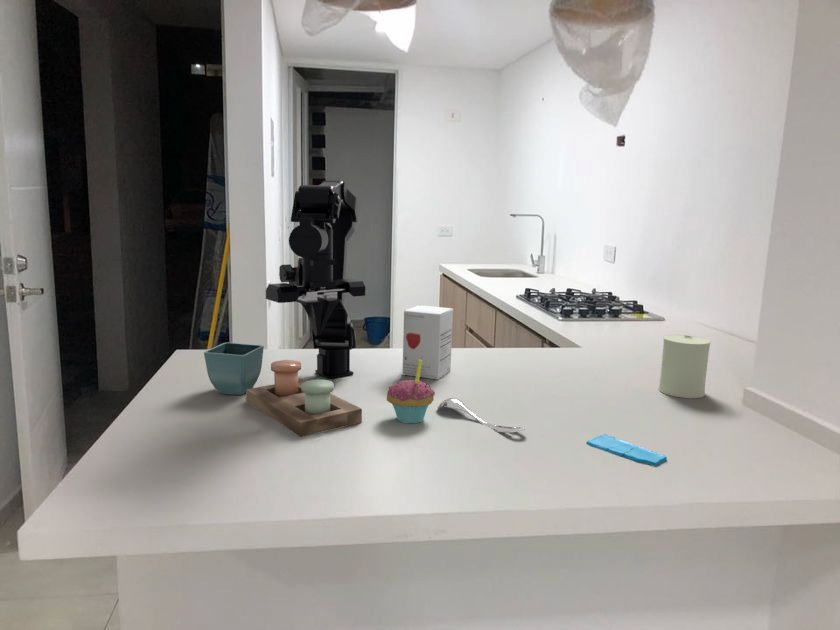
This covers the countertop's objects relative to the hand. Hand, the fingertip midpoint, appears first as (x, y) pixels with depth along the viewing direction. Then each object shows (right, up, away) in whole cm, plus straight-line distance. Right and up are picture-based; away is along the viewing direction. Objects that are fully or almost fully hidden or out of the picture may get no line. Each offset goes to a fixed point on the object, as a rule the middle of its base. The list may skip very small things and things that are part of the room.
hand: (317, 334), depth 117 cm
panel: (-2, -14, -5) cm, 15 cm away
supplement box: (+21, -10, +23) cm, 33 cm away
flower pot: (-18, -12, +6) cm, 22 cm away
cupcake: (+18, -15, -7) cm, 24 cm away
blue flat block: (+53, -19, -19) cm, 59 cm away
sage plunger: (+2, -14, -10) cm, 17 cm away
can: (+76, -13, +13) cm, 78 cm away
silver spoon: (+30, -16, -8) cm, 35 cm away
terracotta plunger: (-6, -11, -1) cm, 13 cm away
